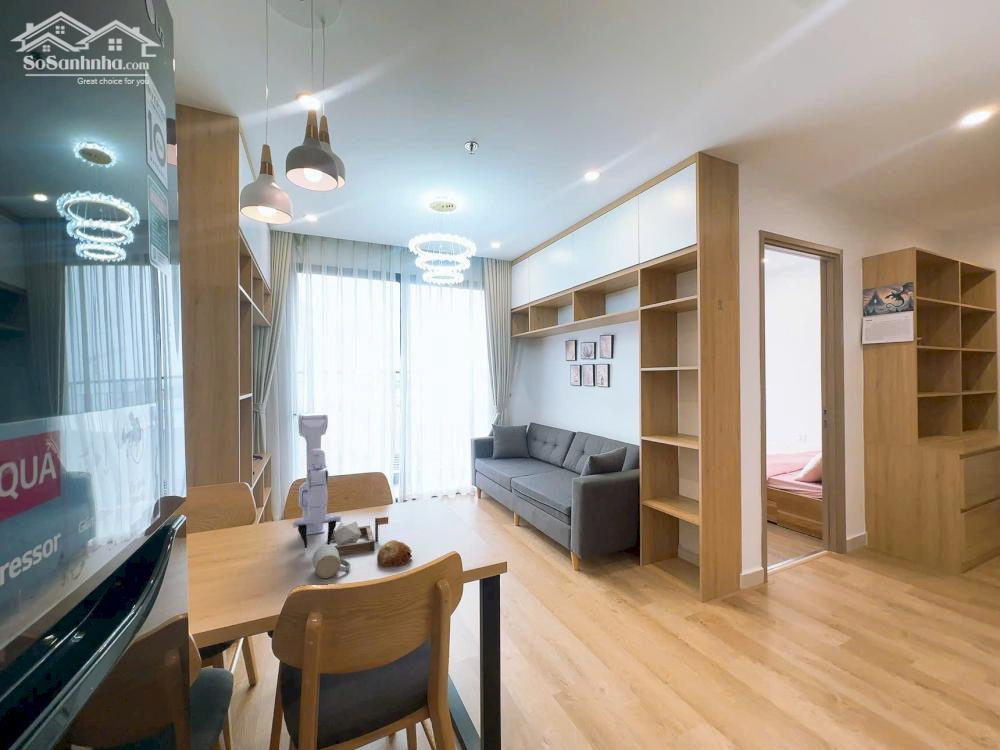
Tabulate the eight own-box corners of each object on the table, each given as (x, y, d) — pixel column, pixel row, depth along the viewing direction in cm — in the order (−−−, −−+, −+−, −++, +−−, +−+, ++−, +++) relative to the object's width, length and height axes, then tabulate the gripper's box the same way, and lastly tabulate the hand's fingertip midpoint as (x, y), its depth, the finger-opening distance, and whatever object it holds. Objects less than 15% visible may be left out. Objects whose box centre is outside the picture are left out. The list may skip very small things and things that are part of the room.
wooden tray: (327, 539, 149) (327, 517, 149) (385, 531, 156) (385, 510, 156) (327, 557, 134) (327, 532, 134) (391, 547, 142) (391, 524, 142)
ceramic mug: (315, 582, 118) (315, 556, 118) (312, 571, 125) (312, 546, 125) (352, 574, 123) (353, 549, 123) (347, 564, 130) (348, 540, 130)
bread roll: (389, 564, 137) (378, 542, 137) (417, 551, 137) (407, 529, 137) (379, 579, 127) (368, 555, 127) (410, 565, 127) (398, 541, 127)
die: (344, 554, 138) (362, 528, 140) (323, 540, 139) (342, 514, 142) (352, 553, 145) (369, 528, 148) (332, 539, 147) (350, 515, 150)
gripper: (292, 511, 134) (292, 553, 134) (340, 505, 139) (340, 546, 139) (294, 504, 140) (294, 545, 140) (340, 500, 146) (340, 538, 146)
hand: (317, 545), depth 140 cm, fingers open, 6 cm apart
